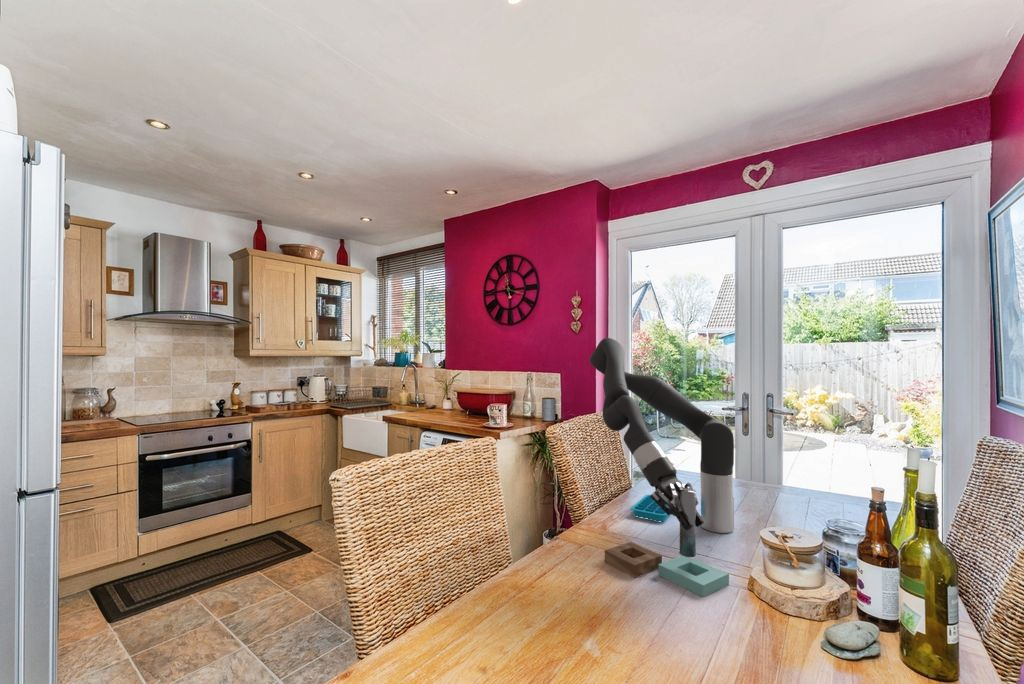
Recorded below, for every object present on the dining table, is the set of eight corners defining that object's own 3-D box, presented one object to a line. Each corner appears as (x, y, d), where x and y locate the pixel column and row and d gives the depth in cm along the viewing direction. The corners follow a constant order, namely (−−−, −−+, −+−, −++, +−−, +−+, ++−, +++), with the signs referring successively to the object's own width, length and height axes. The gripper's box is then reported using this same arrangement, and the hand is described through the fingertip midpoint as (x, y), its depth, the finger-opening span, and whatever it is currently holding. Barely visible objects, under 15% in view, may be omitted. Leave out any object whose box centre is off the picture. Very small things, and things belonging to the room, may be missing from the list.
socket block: (631, 553, 120) (631, 541, 120) (662, 567, 112) (662, 555, 112) (604, 562, 114) (604, 550, 115) (635, 577, 106) (635, 565, 106)
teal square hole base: (683, 564, 113) (683, 554, 114) (729, 584, 103) (728, 573, 104) (658, 574, 108) (658, 564, 108) (703, 596, 98) (703, 585, 98)
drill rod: (685, 549, 109) (686, 487, 109) (698, 555, 106) (699, 491, 106) (676, 552, 107) (676, 489, 107) (689, 558, 104) (689, 493, 104)
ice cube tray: (629, 518, 148) (629, 509, 148) (646, 502, 165) (646, 494, 165) (665, 525, 142) (665, 515, 142) (679, 508, 159) (679, 499, 159)
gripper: (663, 468, 121) (703, 528, 111) (627, 475, 114) (666, 540, 103) (680, 452, 117) (723, 513, 107) (643, 458, 109) (686, 525, 99)
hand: (694, 526), depth 105 cm, fingers closed on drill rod, 3 cm apart
